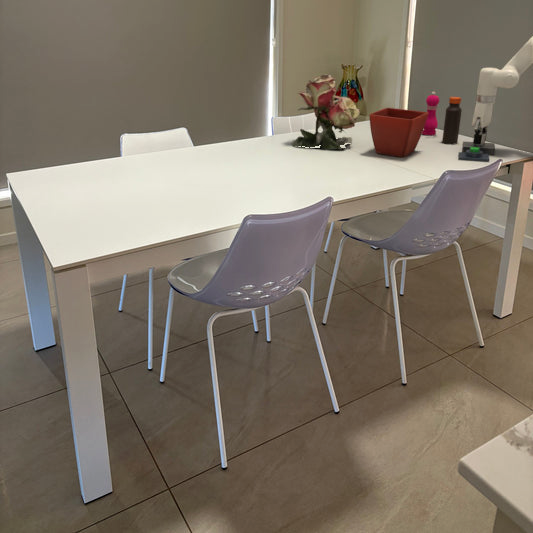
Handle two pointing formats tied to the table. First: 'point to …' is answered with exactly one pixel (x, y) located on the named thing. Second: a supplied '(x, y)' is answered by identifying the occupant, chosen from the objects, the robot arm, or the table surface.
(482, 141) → the program dial
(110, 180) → the table surface
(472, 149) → the start button
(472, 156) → the housing
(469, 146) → the dial panel
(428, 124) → the pepper mill
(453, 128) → the bottle
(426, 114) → the flower pot
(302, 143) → the rose bouquet
